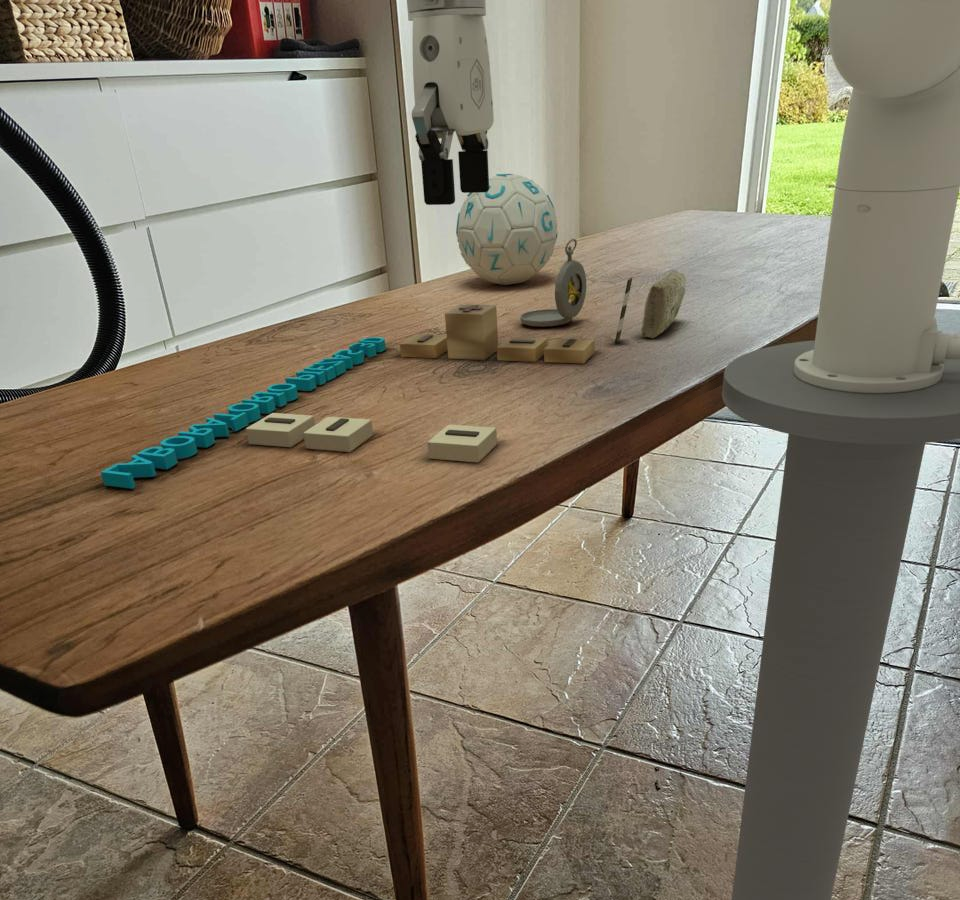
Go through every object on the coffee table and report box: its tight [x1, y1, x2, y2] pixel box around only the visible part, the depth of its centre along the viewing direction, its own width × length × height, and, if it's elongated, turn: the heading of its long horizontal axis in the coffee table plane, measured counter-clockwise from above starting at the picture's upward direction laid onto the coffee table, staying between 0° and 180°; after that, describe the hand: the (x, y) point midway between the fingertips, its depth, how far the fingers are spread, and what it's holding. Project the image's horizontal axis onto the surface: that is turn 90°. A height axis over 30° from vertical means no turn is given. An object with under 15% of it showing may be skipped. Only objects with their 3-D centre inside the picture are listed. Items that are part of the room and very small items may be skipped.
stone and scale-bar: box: [614, 269, 687, 345], centre depth 105 cm, size 7×4×12 cm
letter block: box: [444, 304, 499, 361], centre depth 102 cm, size 4×4×5 cm
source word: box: [399, 333, 596, 365], centre depth 102 cm, size 22×4×2 cm, turn 69°
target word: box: [245, 412, 498, 463], centre depth 79 cm, size 22×4×2 cm, turn 69°
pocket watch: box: [519, 238, 587, 328], centre depth 111 cm, size 8×8×10 cm
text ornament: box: [100, 336, 387, 489], centre depth 91 cm, size 45×3×1 cm, turn 157°
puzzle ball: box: [455, 173, 559, 286], centre depth 134 cm, size 15×15×15 cm
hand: (458, 197), depth 95 cm, fingers open, 9 cm apart
